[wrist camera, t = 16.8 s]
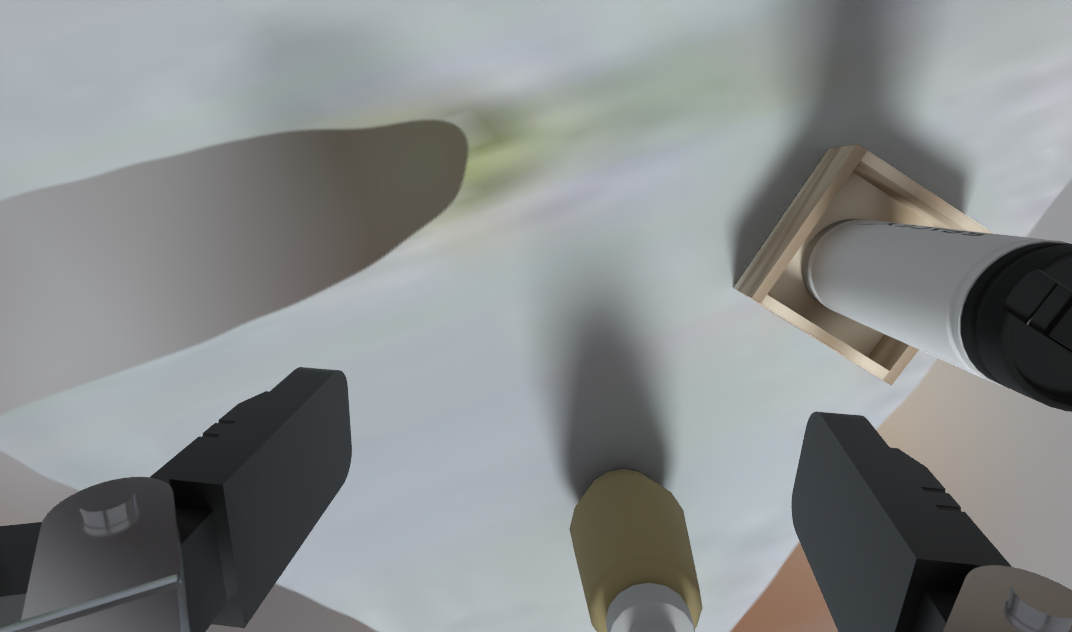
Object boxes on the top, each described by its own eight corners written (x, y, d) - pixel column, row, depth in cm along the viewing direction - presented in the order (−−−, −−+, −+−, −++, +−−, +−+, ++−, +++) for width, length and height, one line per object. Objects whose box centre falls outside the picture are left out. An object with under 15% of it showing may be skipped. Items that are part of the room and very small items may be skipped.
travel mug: (860, 330, 43) (1121, 453, 23) (781, 280, 42) (980, 363, 23) (918, 252, 42) (1243, 312, 22) (838, 200, 41) (1098, 214, 22)
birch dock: (733, 287, 43) (751, 298, 40) (829, 147, 41) (858, 144, 38) (861, 367, 44) (891, 385, 41) (961, 234, 42) (1003, 239, 38)
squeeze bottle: (551, 528, 48) (552, 731, 30) (594, 437, 46) (621, 594, 28) (648, 567, 48) (704, 788, 30) (694, 477, 46) (781, 656, 29)
